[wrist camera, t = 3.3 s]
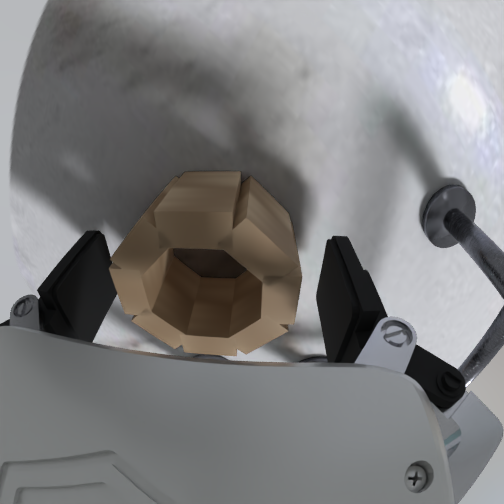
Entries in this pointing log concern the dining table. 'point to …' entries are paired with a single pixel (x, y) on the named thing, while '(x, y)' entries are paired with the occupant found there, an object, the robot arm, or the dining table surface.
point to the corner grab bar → (480, 250)
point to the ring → (203, 288)
